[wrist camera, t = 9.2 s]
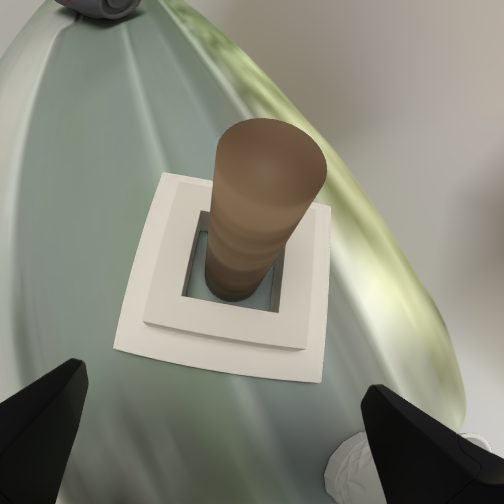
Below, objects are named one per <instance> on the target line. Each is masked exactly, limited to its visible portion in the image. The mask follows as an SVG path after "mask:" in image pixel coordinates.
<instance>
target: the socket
mask: <svg viewBox="0 0 504 504" xmlns="http://www.w3.org/2000/svg"><path fill="white" fill-rule="evenodd" d="M212 187H213V181H210V180H205V179H199V178H194V177H188V176H182V175H176V174H170V173H164V172H163V173H162V176H161V179H160V182H159V184H158V187H157V190H156V193H155V196H154V199H153V202H152V205H151V208H150V211H149V214H148V217H147V220H146V223H145V226H144V229H143V233H142V236H141V239H140V242H139V246H138V249H137V253H136V256H135V260H134V263H133V267H132V270H131V274H130V278H129V282H128V285H127V289H126V293H125V297H124V301H123V306H122V310H121V314H120V318H119V323H118V327H117V332H116V337H115V342H114V347H113V348H114V349H116V350H120V351H124V352H128V353H132V354H136V355H140V356H144V357H148V358H152V359H157V360H161V361H166V362H170V363H175V364H180V365H185V366H190V367H196V368H201V369H207V370H213V371H219V372H225V373H231V374H238V375H245V376H253V377H260V378H269V379H278V380H288V381H299V382H311V383H321V378H322V368H323V358H324V347H325V334H326V321H327V306H328V288H329V265H330V222H331V207H330V206H326V205H322V204H318V203H314V202H312V203H311V205H310V207H309V208H308V210H307V211H306V213H305V215H304V216H303V218H302V219H301V221H300V222H299V224H298V226H297V227H296V229H295V230H294V232H293V233H292V235H291V236H290V238H289V240H288V241H287V243H286V244H285V246H284V247H283V249H282V250H281V252H280V254H279V255H278V257H277V258H276V260H275V267H274V276H273V285H272V293H271V302H270V310H269V312H268V311H261V310H255V309H249V308H244V307H238V306H232V305H227V304H221V303H216V302H210V301H205V300H200V299H195V298H190V297H185V296H186V291H187V286H188V281H189V277H190V272H191V267H192V263H193V258H194V254H195V249H196V245H197V241H198V236H199V232H200V230H202V231H207V232H208V227H209V216H210V206H211V196H212Z"/></svg>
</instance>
